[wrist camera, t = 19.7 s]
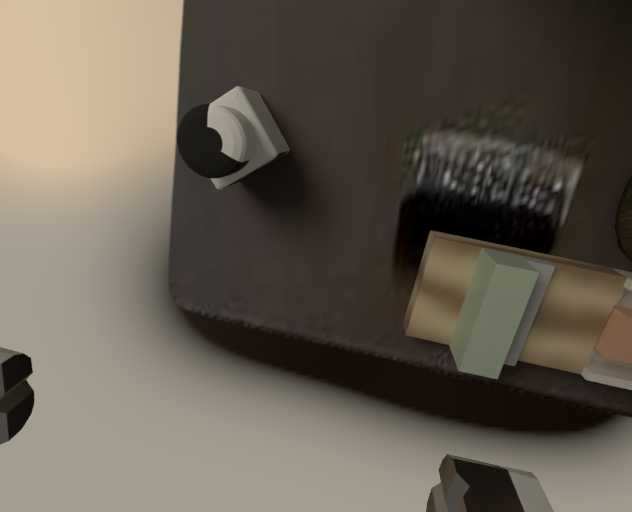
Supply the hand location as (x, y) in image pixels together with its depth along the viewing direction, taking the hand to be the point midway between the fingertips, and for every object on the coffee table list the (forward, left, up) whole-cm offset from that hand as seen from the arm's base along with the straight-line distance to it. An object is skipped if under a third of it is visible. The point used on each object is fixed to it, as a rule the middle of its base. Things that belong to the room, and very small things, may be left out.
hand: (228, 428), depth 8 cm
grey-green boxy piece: (+10, +19, -36) cm, 42 cm away
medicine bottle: (-2, -11, -39) cm, 41 cm away
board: (+10, +21, -39) cm, 45 cm away
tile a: (+10, +33, -37) cm, 51 cm away
